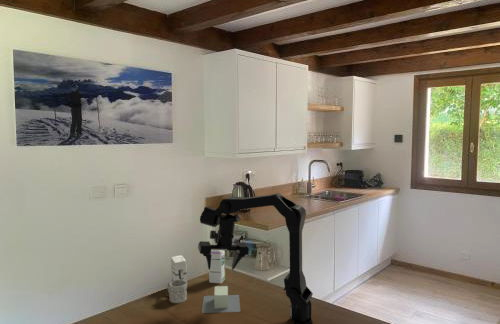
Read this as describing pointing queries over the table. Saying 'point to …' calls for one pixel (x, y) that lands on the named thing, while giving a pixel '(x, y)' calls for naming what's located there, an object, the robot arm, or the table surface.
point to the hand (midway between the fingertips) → (220, 269)
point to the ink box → (179, 268)
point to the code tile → (232, 307)
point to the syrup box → (217, 266)
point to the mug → (177, 291)
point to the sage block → (221, 297)
